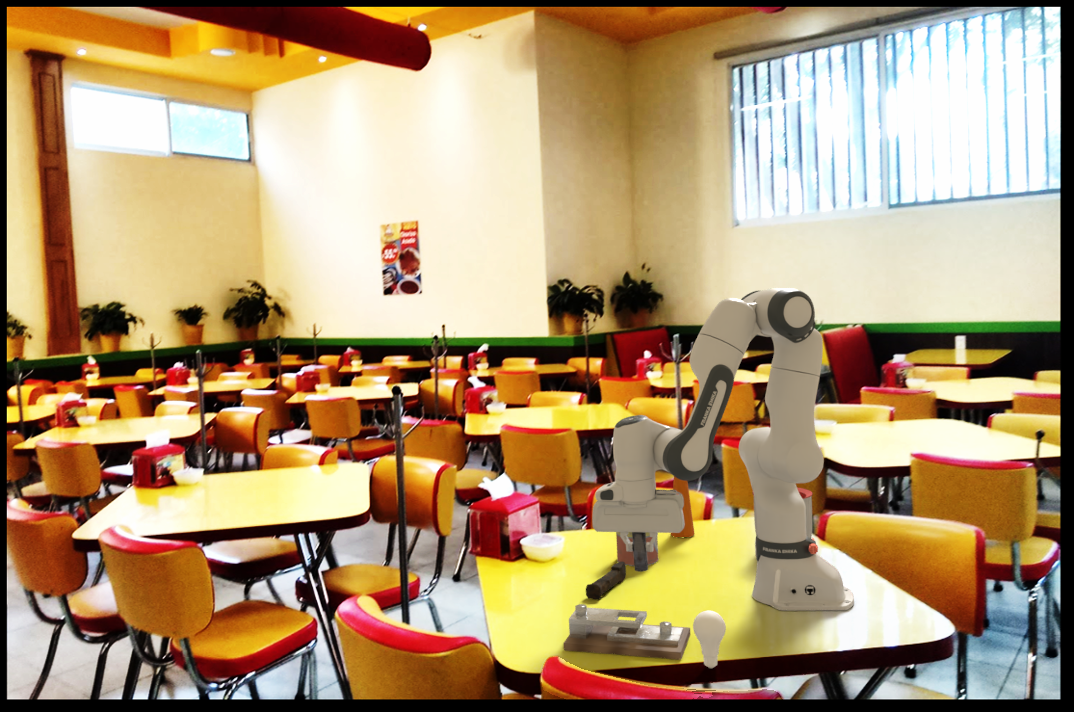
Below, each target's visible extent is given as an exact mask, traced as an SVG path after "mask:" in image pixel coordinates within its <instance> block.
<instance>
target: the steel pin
mask: <svg viewBox="0 0 1074 712" xmlns="http://www.w3.org/2000/svg"><path fill="white" fill-rule="evenodd" d="M632 539H633V554H634V566H633V567H634V571H635V572H640V573H641V572H648V570H649V565H648V560H647V552H646V546H645V544H646V532H632Z"/></svg>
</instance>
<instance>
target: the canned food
mask: <svg viewBox="0 0 1074 712" xmlns="http://www.w3.org/2000/svg"><path fill="white" fill-rule="evenodd" d="M615 536H616V537H615V538H616V558H617V559H616V561H617V563H618V562H622V561H623V562H625V566H627V565H629V566H628V567H634V554H633V552H632V551H629V552H628V551H626V544H625V543H624V541H623V540H622V538H621V537H620V532H615ZM627 537H628V539H629V540H630V542H633V539H632V532H628V535H627ZM652 538H653V537H650V532H646V543H647V542H650V541H651V540H652ZM653 545H654V551H653V552H647V560H648V566H652V565H654V563H655V564H656V562H657V561H658V560H659V559H660V558H659V546H658V545H659V544H658V536H657V537H656V539H655V541H654V543H653ZM658 562H659V561H658ZM658 562H657V563H658ZM651 564H652V565H651Z"/></svg>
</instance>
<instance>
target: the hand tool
mask: <svg viewBox="0 0 1074 712" xmlns="http://www.w3.org/2000/svg"><path fill="white" fill-rule="evenodd" d="M626 566H627V565H625V562H623V561H622V562H618V561H617V563H614V564H613V565H612V566H611V567H610V568H611V569H610V570H609V571H608V572H607V573H605V574H604V575H603V576H601V577H600V578H598V579H597V580H595V581H593V582H592V583H590V584H589V583H588V584H586V587H585V596H586V597H587V598H588V599H589V600H590V599H591V600H600V599H601V598H602V597H603V594H605V593H606V592H607V591H608V590H610V589H612V588H613V587H614V586H615V585H617V584H621V582H622V583H623V582H624V581H625V579H626V576H627V567H626Z"/></svg>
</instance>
